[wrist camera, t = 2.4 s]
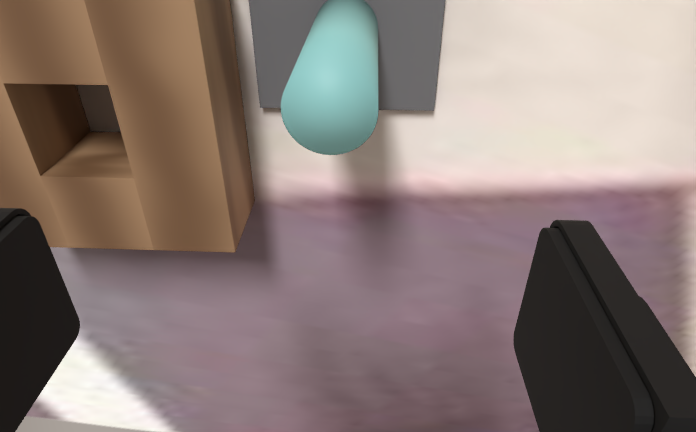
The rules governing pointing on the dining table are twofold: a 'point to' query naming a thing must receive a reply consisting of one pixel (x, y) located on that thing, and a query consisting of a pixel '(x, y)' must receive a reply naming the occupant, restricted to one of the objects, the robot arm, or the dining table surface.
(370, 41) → the peg
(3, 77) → the hole block
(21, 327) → the robot arm
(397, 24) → the mat
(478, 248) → the dining table surface
